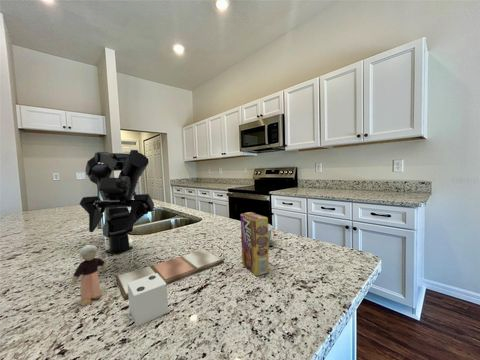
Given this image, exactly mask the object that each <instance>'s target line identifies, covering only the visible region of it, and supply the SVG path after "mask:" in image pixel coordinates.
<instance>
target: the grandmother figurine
mask: <svg viewBox="0 0 480 360" xmlns="http://www.w3.org/2000/svg"><path fill="white" fill-rule="evenodd" d="M97 252H98V247H97V246H96V245H93V244H91V245H90V244H87V245H84V246H83V247H81V249H80V250H79V256H80V258H82V260H84V261H82V262H80V264H79V265H78V267H77V268H76V270H75V271H74V273H73V276H72V278H71V281H70V285H72V286H75V285H76V284H77V281H78V280H79V277H80V276H81V283H80V301H79V304H80V306H81V307H85V306H88V305H91V303H92V301H93V300H98V299H100V298H101V297H103V293H102V292H101V286H100V281H99V269H98V268H99V267H100V268H101V269H102V270H106V269H107V267H108V266H107V265H106V263H105V261H104V260H103V259H102V258H98V257H96V255H97Z"/></svg>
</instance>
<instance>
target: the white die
mask: <svg viewBox="0 0 480 360" xmlns="http://www.w3.org/2000/svg"><path fill="white" fill-rule="evenodd" d="M127 284H128V297H129V299H128V306H129V307H128V308H129V313H130V315H131V317H132V320H133V322H134V324H135V327H139V326H142V325H143V324H146V323H147V322H150V321H152V320H155V319H157V318H160V317H161V316H164V315H165V314H168V313H169V302H168V301H169V299H168V289H167V287H168V286H167V285H168V284H166V283H165V282H164V280H163V279H162V278H161V277H160V276H159V275H158V273H155V274H152V275H149V276H146V277H143V278H140V279H137V280H134V281H131V282H128V283H127Z"/></svg>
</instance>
